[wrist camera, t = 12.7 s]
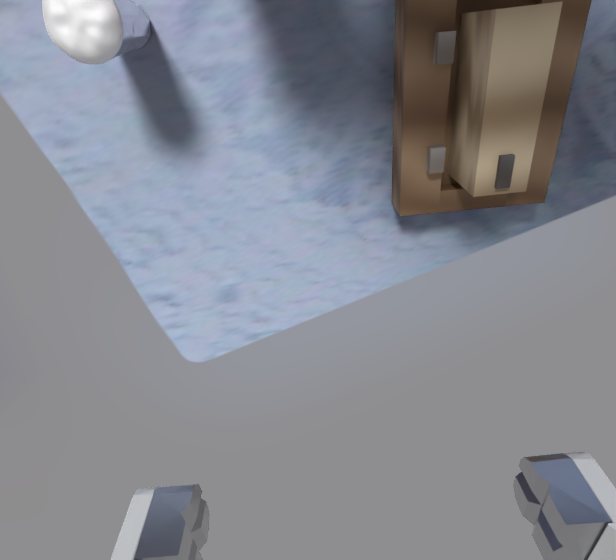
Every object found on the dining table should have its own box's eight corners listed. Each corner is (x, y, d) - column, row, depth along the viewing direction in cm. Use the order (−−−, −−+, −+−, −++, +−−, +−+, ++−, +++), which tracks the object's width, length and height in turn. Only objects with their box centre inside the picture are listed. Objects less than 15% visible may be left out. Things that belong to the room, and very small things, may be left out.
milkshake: (156, -21, 29) (101, -43, 21) (162, 61, 32) (115, 71, 24) (92, -30, 29) (9, -57, 21) (103, 54, 32) (34, 61, 23)
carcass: (396, -28, 30) (411, -37, 26) (573, -47, 29) (614, -59, 26) (391, 202, 39) (402, 220, 35) (525, 189, 39) (550, 206, 35)
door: (461, 13, 29) (499, 8, 24) (516, 7, 29) (566, 0, 24) (447, 173, 36) (475, 198, 30) (492, 168, 36) (528, 193, 30)
